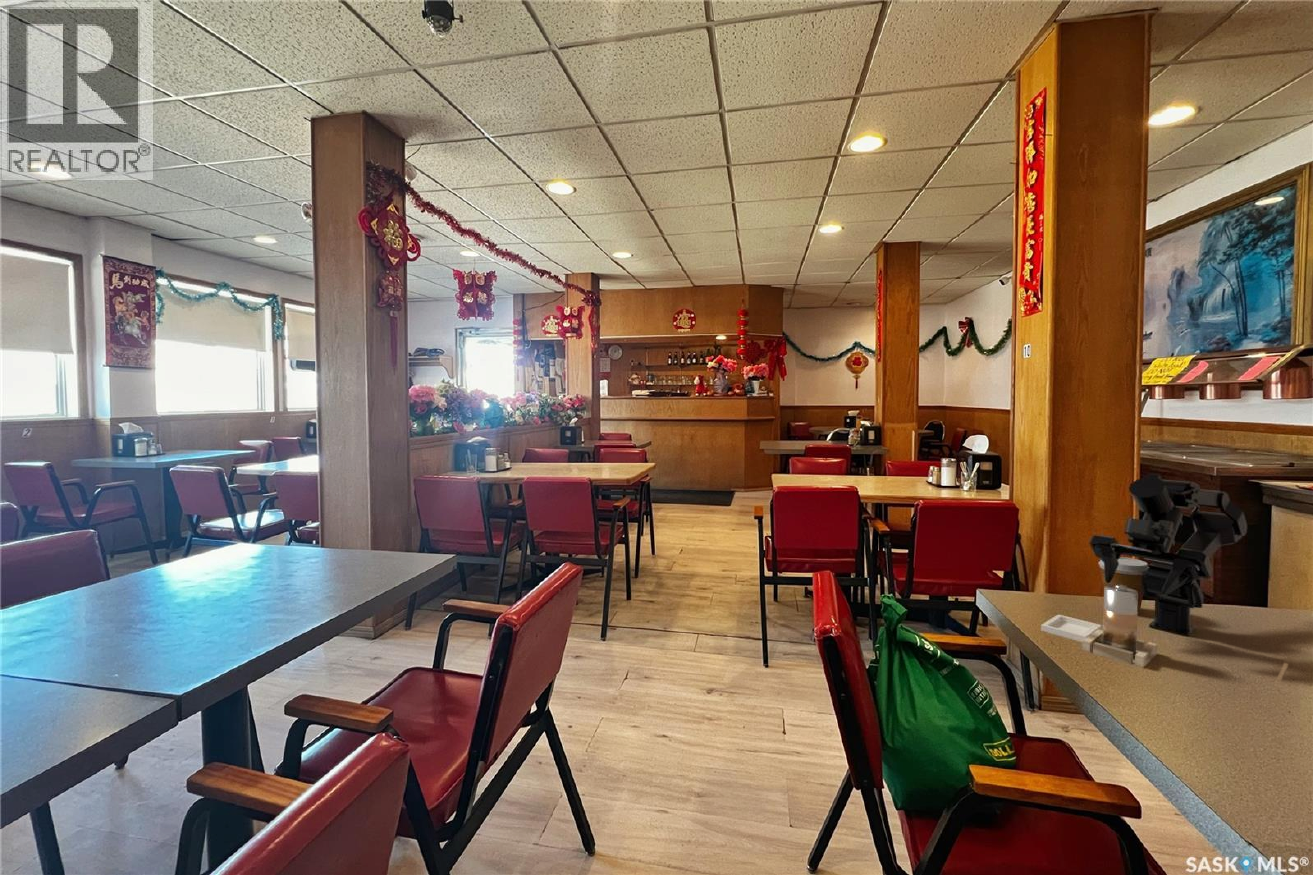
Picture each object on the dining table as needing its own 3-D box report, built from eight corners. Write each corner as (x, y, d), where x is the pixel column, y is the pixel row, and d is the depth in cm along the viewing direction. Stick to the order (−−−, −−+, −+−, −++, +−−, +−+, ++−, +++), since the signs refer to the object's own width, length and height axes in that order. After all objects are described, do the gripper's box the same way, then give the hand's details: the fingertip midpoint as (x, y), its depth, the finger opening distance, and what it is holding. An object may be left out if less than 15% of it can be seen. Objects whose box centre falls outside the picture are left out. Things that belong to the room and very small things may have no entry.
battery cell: (1107, 644, 113) (1108, 580, 112) (1139, 653, 108) (1141, 586, 108) (1098, 651, 110) (1100, 585, 109) (1132, 660, 105) (1133, 592, 105)
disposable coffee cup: (1088, 602, 138) (1089, 555, 138) (1130, 603, 137) (1131, 556, 136) (1114, 616, 129) (1115, 566, 128) (1159, 617, 127) (1161, 566, 127)
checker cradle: (1097, 640, 116) (1098, 629, 115) (1156, 656, 108) (1157, 644, 108) (1082, 652, 110) (1082, 640, 110) (1143, 670, 102) (1143, 657, 102)
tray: (1058, 622, 126) (1058, 614, 126) (1101, 633, 119) (1101, 625, 119) (1040, 633, 120) (1041, 625, 120) (1085, 645, 113) (1085, 636, 113)
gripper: (1094, 498, 122) (1068, 554, 117) (1209, 511, 105) (1185, 576, 100) (1109, 529, 126) (1085, 584, 121) (1222, 545, 110) (1200, 610, 105)
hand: (1134, 588), depth 112 cm, fingers open, 9 cm apart
